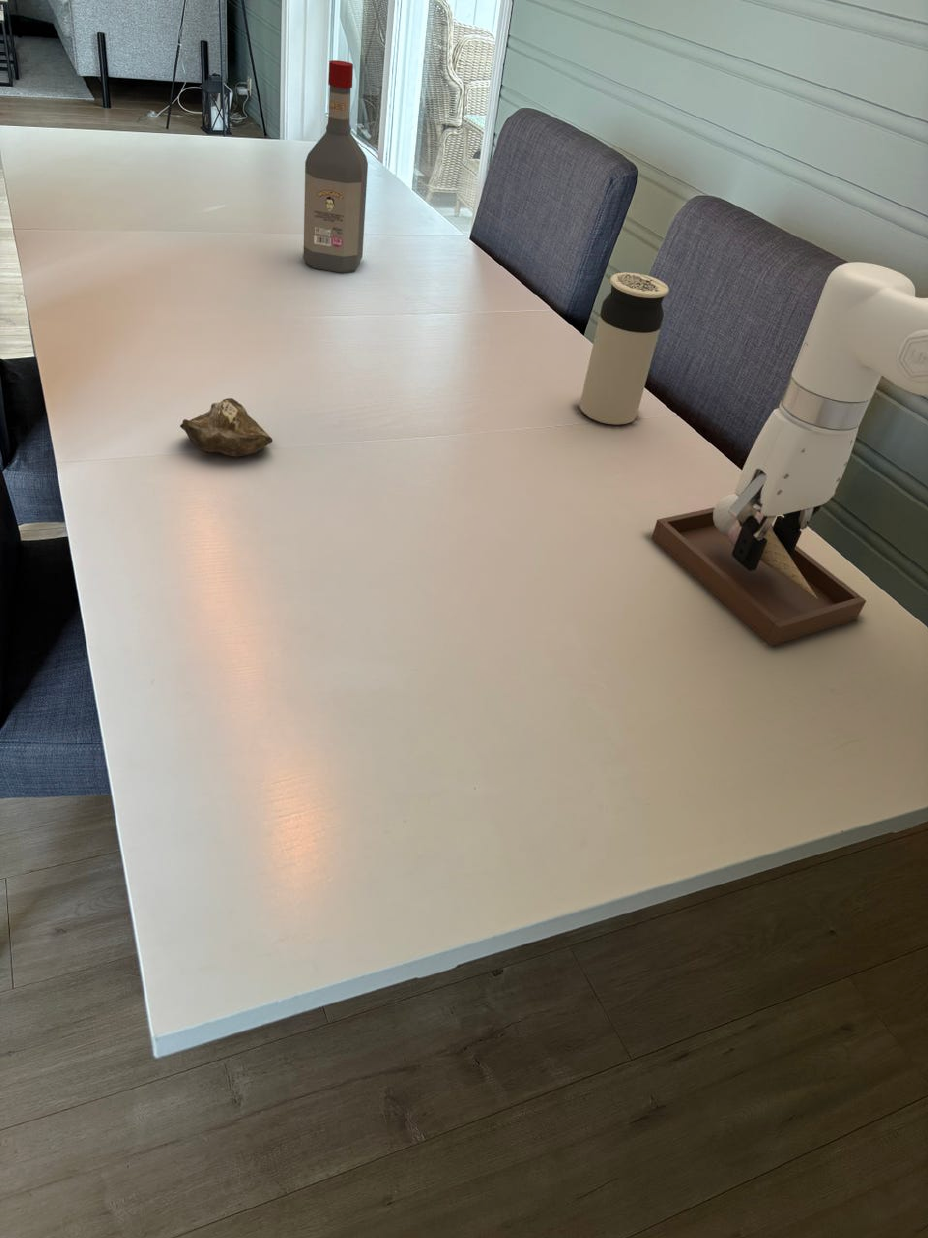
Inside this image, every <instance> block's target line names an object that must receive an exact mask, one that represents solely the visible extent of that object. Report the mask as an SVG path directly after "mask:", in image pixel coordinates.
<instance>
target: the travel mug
mask: <svg viewBox="0 0 928 1238" xmlns="http://www.w3.org/2000/svg"><path fill="white" fill-rule="evenodd" d="M609 283H610V292H609V293H608V295H607V296H606V297H605V298H604V300H603V301H602V305H601V309H600V314H599V317H598V322H597V326H596V330H595V334H594V339H593V342H592V343H593V344H592V347H591V352H590V356H589V361H588V365H587V370H586V374H585V378H584V382H583V386H582V391H581V396H580V400H579V405H578V406H579V409H580V411H581V412H582V413H583V414H584V415H586V417H588V418H589V419H592V420H593V421H596V422H598V423H601V424H606V425H612V426H613V425H615V426H616V425H617V426H618V425H619V426H620V425H627V424H629V423H632V422H633V421H635V419H636V418H637V414H638V411H639V408H640V404H641V400H642V397H643V394H644V390H645V386H646V382H647V378H648V374H649V371H650V367H651V364H652V360H653V356H654V353H655V350H656V346H657V342H658V338H659V335H660V331H661V328H662V324H663V320H664V317H665V313H664V307H663V301H664V298H665V297H666V296H667V295H668V294H669V292H670V291H669V287H668V285H667V284H666V283H665V282H664V281H662V280H660V279H658V278H655V277H654V276H650V275H646V274H642V273H637V272H618V273H614V274H613V275H611V276H610V279H609Z"/></svg>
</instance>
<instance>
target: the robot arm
mask: <svg viewBox="0 0 928 1238" xmlns="http://www.w3.org/2000/svg"><path fill="white" fill-rule="evenodd" d="M809 323H810V324H809V326H808V329H807V331H806V334H805V337H804V339H803V342H802V345H801V347H800V350H799V352H798V355H797V358H796V360H795V363H794V366H793V369H792V371H791V373H790V376H789V379H788V380H787V381H788V382H787V384H786V387H785V390H784V392H783V394H782V398H781V400H780V403H779V407H778V408H775V409H773V411H772V412H771V414H770V415H769V417H768V418H767V419H766V421H765V423H764V425H763V426H762V428H761V430H760V432H759V434H758V436H757V437H756V439H755V441H754V443H753V446H752V448H751V449H750V451H749V454H748V456H747V458H746V461H745V463H744V465H743V468H742V471H741V473H740V474H739V476H738V477H739V478H738V480H737V483H736V486H735V489H734V494H736V495H737V496H738V497H739V498H738V499H737V500H736V501H735V502H734V503H733V505H732V506H731V507H730V508H729V510H728V512H729V513H730V514H731V515H732V516H733V517H735V518H736V519H737V520H738V522H739V526H740V527H742V528H741V531H740V533H739V536H738V539H737V541H736V544H735V546H734V549H733V552H732V556H733V558H735V559H736V560H737V561H738V562H739V563H741V564H742V565H743V566H744V567H745V568H746V569H748V570H749V571H753V570H755V569H756V568H757V565H758V563H759V560H760V558H761V555H762V553H763V551H764V548H765V546H766V543H767V539H765V538H764V537H765V535H766V533H767V532H768V530H769V528H770V526H771V525H772V526H773V531H774V533H775V534H776V536H777V537H778V539H779V541H780V542H781V544H782V545H783V547H784V548H785V550H786V551H787V553H788V554H789V556H790V557H791V556H792V554H793V551H794V549H795V547H796V546H798V542H799V540H800V538H801V536H802V532H803V531H804V530H806V529H807V528H808V527H809V526H810V523H811V520H812V517H813V516H814V515H815V514H817V512H819V511H820V509H821V507H822V506H823V505H824V504H826V503H828V501H830V500H831V499H832V498H833V497H834V496H835V495H836V490H837V488H838V486H839V484H840V481H841V479H842V477H843V475H844V472H845V470H846V467H847V465H848V462H849V459H850V457H851V454H852V451H853V448H854V445H855V441H856V438H857V435H858V431H859V427H860V425H861V423H862V421H863V418H864V416H865V413H866V411H867V409H868V407H869V404H870V403H871V401H872V398H873V396H874V393H875V391H876V390H877V387H878V385H879V383H880V380H881V378H882V377H884V379H886V380H888V381H889V382H891V383H892V384H893V385H895V386H897V387H899V388H900V389H902V390H905V391H906V392H909V393H912V394H914V395H918V396H923V397H928V297H919V296H918V297H917V296H916V287H915V285H914V283H913V281H912V280H911V279H910V278H908V277H907V276H906V275H905V274H902V273H901V272H899V271H897V270H894V269H892V268H890V267H886V266H882V265H879V264H874V263H869V262H859V261H857V262H854V261H853V262H845V263H842V264H841V265H838V266H836V267H835V269H833V270H832V271H831V272H830V274H829V275H828V277H827V279H826V282H825V283H824V286H823V288H822V291H821V294H820V297H819V299H818V302H817V305H816V307H815V310H814V313H813V316H812V318H811V321H810V322H809ZM757 512H759V513H761V514H762V515H763V516H764V517H763V518H762V520H761V522H760V524H759V522H758V521H757V519H756V518H755V515H756V514H757Z"/></svg>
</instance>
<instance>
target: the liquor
mask: <svg viewBox="0 0 928 1238" xmlns="http://www.w3.org/2000/svg"><path fill="white" fill-rule="evenodd" d="M353 73H354V64H353V63H352V62H349V61H346V60H337V59H336V60H335V59H332V60H329V61H328V80H327V81H328V84H327V85H328V86H329V89H328V91H329V94H328V115H327V125H326V127H325V132H324V134H323V135H322V136H321V138H320V139H319V140H318V141H317V142H316V143H315V145H314V146H313V147H312V148H311V150H310V151H309V152H308V153H307V156H306V158H305V163H304V202H303V203H304V207H303V208H304V209H303V210H304V211H303V254H302V255H303V258H302V259H303V260H304V262H305V264H306V265H308V266H310V267H311V268H313V269H317V270H323V271H327V272H333V273H340V274H343V273H344V274H345V273H351V272H355V271H356V269H357V267H358V266H359V264H360V262H361V260H362V259H363V253H364V252H363V251H364V238H365V237H364V235H365V218H366V204H367V188H368V169H369V162H368V158H367V155H366V154H365V152H364V150H362V148H361V146H360V145H359V143H358V142H357V140H356V139H355V137H354V136H353V135H352V133H351V130H352V128H351V124H350V113H351V112H350V111H351V89H353V75H354V74H353Z"/></svg>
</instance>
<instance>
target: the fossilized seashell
mask: <svg viewBox="0 0 928 1238" xmlns="http://www.w3.org/2000/svg"><path fill="white" fill-rule="evenodd" d="M179 427H180V429H182V430H183V431H184V432H185V434H186V436H187V437H188V439H189V441H190V442H191V443H192V444H193V445H194V446H195V447H196V448H197V449H200V450H202V451H205V452H207V453H220V454H221V453H222V454H224V455H225V456H231V457H234V458H235V457H237V458H238V457H245V456H249V455H251V454H254V453H257V452H258V451H260V450H262V449H263V448H264V447H266V446H268V445H270V444H272V443H273V438H272V437H271V436H270V435H269V434H268V432H266V431H265V430H264V429H263V428H262V427H261V425H260V424H259V423H258V422H257V421H256V420H255V419H254V418H253V417H251V416H250V415H249V414H248V412H247V409H245V407H244V406H243V404H242V403H239V402H238V401H237V400H235V399H234V398H233V397H231V398H230V397H227V398H224V399H222V401H219V402H214V403H211V405H210V409H209V410H208V411H207V412H205V413H203V414H200V415H198V416H196V417H194V418H191V419H190V420H189V419H186V418H183V420H182V423H181V424H179Z"/></svg>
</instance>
